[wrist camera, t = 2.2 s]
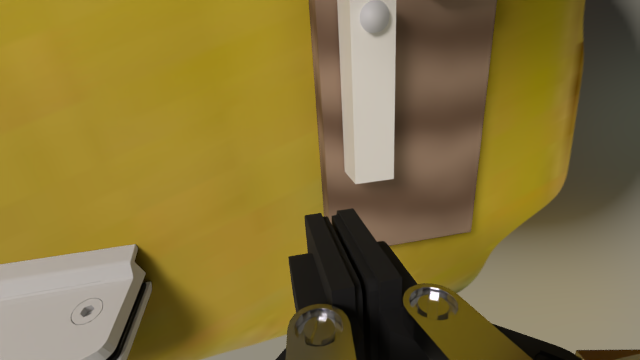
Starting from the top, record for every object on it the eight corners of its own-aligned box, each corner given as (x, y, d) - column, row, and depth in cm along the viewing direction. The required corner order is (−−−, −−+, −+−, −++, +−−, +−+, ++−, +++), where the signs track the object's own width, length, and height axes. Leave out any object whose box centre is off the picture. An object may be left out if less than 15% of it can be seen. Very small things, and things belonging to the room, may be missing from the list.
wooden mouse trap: (305, -48, 23) (320, -80, 18) (481, -52, 25) (538, -81, 20) (326, 241, 31) (340, 275, 26) (455, 219, 34) (491, 247, 29)
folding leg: (337, -1, 22) (351, -11, 19) (378, -2, 22) (399, -13, 19) (344, 171, 26) (357, 186, 23) (379, 167, 27) (395, 180, 24)
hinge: (140, 243, 28) (106, 365, 20) (158, 274, 31) (134, 390, 23) (-86, 277, 25) (-220, 432, 18) (-42, 307, 28) (-141, 450, 21)
